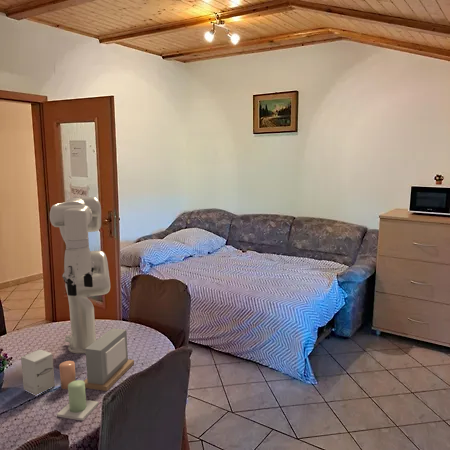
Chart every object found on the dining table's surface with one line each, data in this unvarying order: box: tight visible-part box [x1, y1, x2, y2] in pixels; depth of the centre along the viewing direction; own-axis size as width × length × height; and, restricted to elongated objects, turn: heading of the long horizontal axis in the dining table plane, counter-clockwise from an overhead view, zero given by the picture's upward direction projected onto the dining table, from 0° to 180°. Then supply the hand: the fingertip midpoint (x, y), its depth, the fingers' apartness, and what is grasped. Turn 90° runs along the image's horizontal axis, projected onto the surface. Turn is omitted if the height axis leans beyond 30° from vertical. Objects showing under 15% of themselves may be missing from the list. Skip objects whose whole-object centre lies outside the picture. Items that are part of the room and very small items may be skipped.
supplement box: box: [20, 348, 56, 395], centre depth 145 cm, size 7×7×13 cm
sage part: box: [67, 379, 87, 413], centre depth 133 cm, size 5×5×8 cm
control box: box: [83, 327, 135, 392], centre depth 154 cm, size 10×20×14 cm, turn 165°
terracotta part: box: [58, 360, 77, 390], centre depth 148 cm, size 5×5×8 cm
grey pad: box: [56, 399, 100, 422], centre depth 134 cm, size 9×9×1 cm
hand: (80, 290), depth 150 cm, fingers open, 9 cm apart
